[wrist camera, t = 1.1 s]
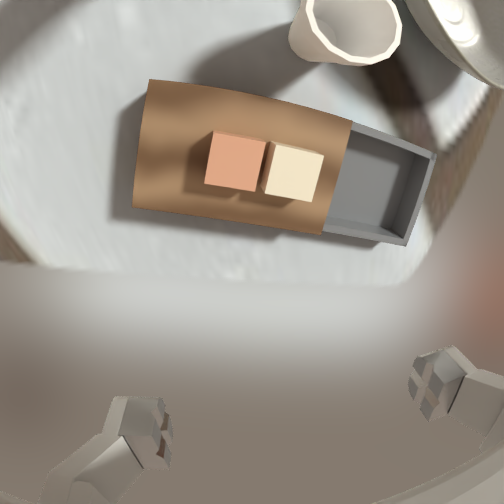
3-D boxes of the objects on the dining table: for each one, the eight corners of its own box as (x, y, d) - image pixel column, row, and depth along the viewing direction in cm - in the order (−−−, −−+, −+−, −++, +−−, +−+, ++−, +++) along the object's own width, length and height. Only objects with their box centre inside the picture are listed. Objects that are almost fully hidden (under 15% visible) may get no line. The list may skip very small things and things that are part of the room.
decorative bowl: (480, 112, 37) (533, 125, 26) (346, 37, 31) (395, 19, 21) (494, -5, 26) (540, -10, 15) (373, -87, 20) (412, -117, 10)
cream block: (270, 140, 31) (276, 144, 29) (314, 151, 32) (324, 155, 30) (260, 185, 33) (264, 193, 31) (303, 193, 34) (311, 202, 32)
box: (336, 118, 36) (351, 121, 32) (418, 148, 39) (437, 154, 35) (310, 217, 42) (320, 230, 38) (391, 233, 45) (405, 246, 41)
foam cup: (277, 72, 33) (308, 58, 22) (272, 5, 29) (301, -34, 17) (349, 75, 34) (405, 69, 22) (345, 12, 30) (396, -15, 18)
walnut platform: (158, 82, 32) (149, 79, 27) (333, 117, 36) (353, 120, 31) (142, 192, 38) (131, 207, 32) (306, 217, 42) (320, 235, 37)
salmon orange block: (213, 130, 30) (213, 132, 27) (261, 139, 31) (265, 142, 28) (204, 176, 32) (204, 183, 29) (251, 184, 33) (254, 191, 30)
